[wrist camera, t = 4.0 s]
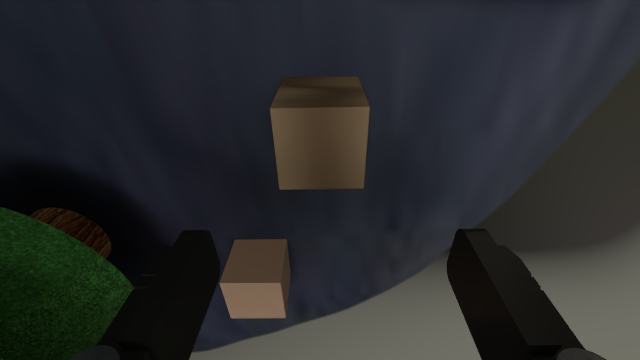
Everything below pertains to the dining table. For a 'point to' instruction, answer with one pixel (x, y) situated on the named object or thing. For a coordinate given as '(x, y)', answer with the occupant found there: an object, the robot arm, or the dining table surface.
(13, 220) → the decorative tree
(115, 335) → the robot arm
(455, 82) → the dining table surface
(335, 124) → the walnut block
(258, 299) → the tan cube
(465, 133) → the dining table surface
